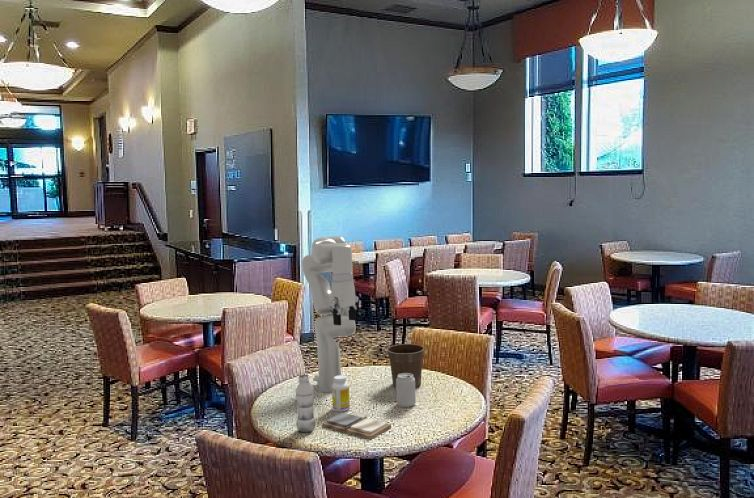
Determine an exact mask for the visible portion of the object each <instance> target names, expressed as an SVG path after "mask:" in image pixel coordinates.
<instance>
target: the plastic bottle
mask: <svg viewBox="0 0 754 498" xmlns="http://www.w3.org/2000/svg"><path fill="white" fill-rule="evenodd" d="M310 381H311V379H310V374H301V375H299V376H298V385H297V386H296V388H295V391H294V392H295V398H296V401H297V419H296V428H297V430H298V431H299V432H301V433H309V432H313V430H315V429H316V419H315V414H314V413H315V412H314V399H315V397H314V396H315V389H314V386H313V385H312V384H311V383H310Z"/></svg>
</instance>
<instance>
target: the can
mask: <svg viewBox="0 0 754 498" xmlns="http://www.w3.org/2000/svg"><path fill="white" fill-rule="evenodd" d="M395 389H396V390H395V391H396V394H395V395H396V404H397V405H398V406H399V407H401V408H412V407H414V405H415V404H416V403H417V402H416V401H417V400H416V388H415V378H414V377H413V374H410V373H402V374H399V375H398V377H397V378H396V387H395Z"/></svg>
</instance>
